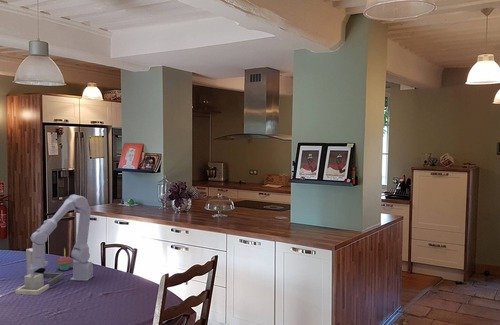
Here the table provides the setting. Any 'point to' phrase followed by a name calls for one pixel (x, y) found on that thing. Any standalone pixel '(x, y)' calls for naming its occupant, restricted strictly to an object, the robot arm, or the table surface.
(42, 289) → the bracket frame
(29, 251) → the skincare box
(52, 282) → the frame
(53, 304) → the table surface
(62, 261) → the cupcake
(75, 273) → the robot arm
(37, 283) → the skincare box
